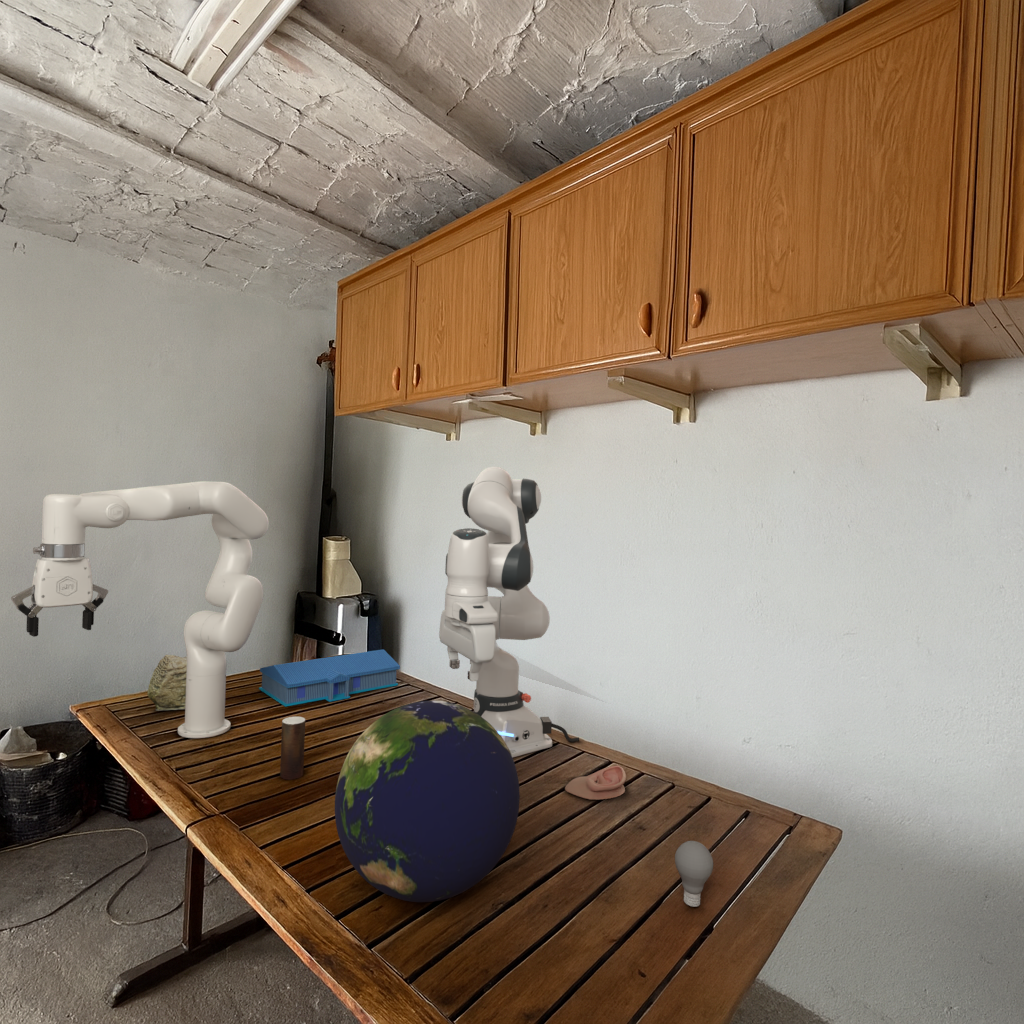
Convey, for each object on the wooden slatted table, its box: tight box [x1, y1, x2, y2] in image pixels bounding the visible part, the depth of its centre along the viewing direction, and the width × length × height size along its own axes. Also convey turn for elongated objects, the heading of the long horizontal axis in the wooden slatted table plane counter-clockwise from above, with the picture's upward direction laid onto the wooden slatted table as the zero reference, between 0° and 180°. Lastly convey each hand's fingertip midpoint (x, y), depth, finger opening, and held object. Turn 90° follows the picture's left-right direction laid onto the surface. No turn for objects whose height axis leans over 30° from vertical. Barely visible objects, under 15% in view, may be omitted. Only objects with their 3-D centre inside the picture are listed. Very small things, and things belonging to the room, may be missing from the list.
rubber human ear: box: [564, 765, 627, 801], centre depth 143 cm, size 13×4×12 cm
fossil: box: [147, 654, 187, 712], centre depth 185 cm, size 9×18×15 cm, turn 132°
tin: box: [279, 716, 306, 781], centre depth 143 cm, size 5×5×12 cm
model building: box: [258, 649, 401, 707], centre depth 208 cm, size 39×24×10 cm, turn 132°
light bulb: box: [674, 840, 714, 907], centre depth 103 cm, size 6×6×10 cm
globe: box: [334, 700, 521, 903], centre depth 104 cm, size 30×30×30 cm
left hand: (60, 632), depth 135 cm, fingers open, 9 cm apart
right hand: (463, 674), depth 131 cm, fingers open, 8 cm apart
